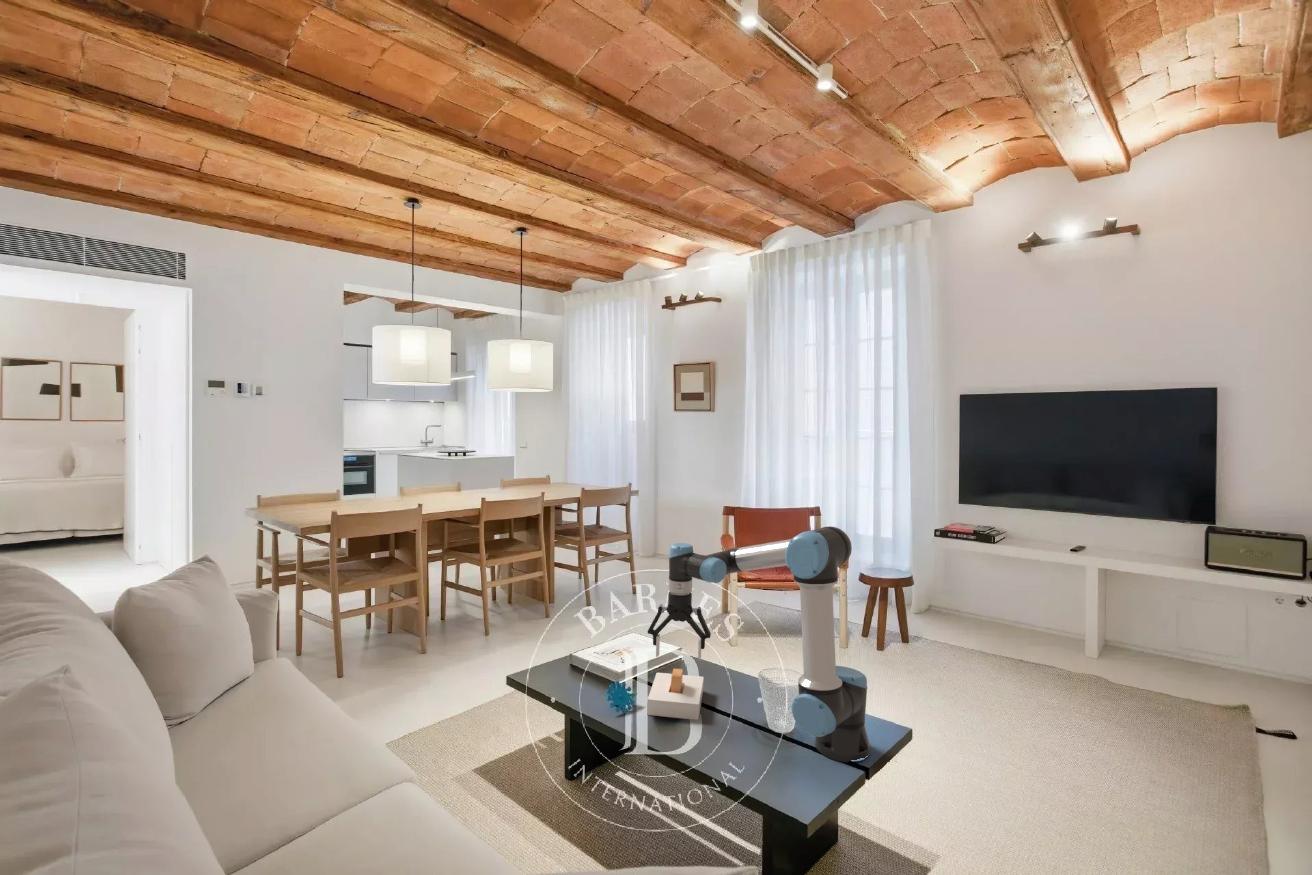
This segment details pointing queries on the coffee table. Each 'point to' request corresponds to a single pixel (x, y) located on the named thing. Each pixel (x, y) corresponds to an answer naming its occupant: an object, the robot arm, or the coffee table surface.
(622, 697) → the blue virus model
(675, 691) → the peg
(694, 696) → the block
